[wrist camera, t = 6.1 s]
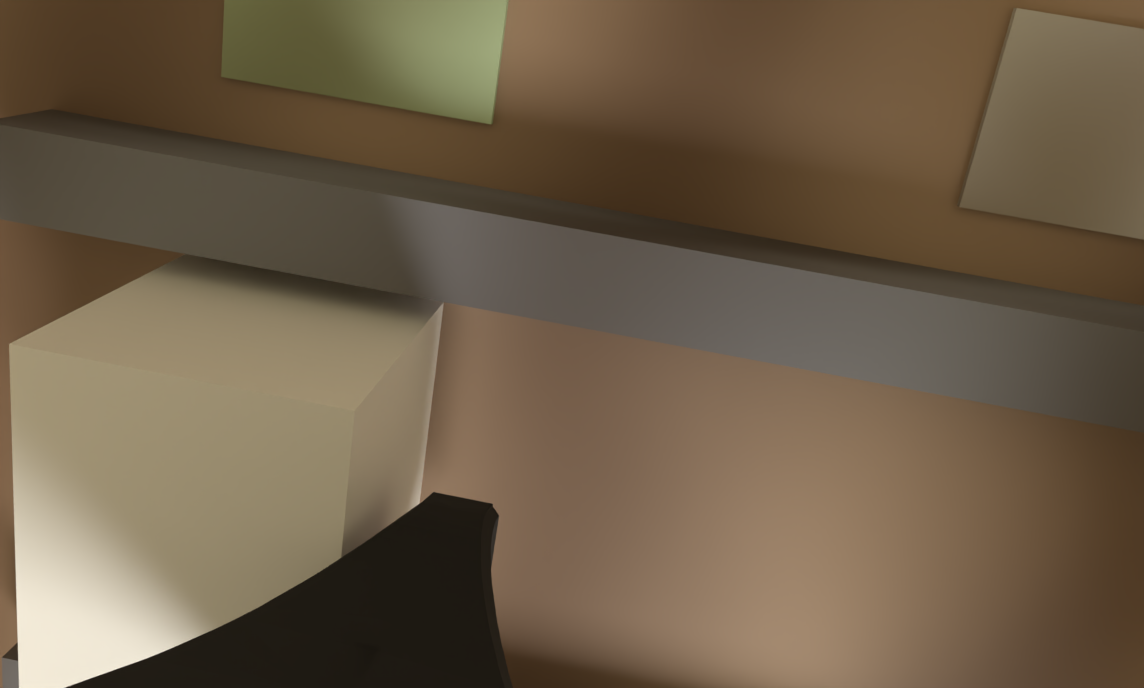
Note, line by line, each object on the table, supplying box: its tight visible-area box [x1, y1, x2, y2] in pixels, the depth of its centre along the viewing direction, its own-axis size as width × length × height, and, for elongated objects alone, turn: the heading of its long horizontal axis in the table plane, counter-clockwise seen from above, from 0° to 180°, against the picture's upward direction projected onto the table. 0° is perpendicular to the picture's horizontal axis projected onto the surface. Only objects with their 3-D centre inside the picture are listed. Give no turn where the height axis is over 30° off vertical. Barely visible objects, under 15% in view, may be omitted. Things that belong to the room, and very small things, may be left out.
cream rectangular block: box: [9, 254, 444, 688], centre depth 11 cm, size 3×5×3 cm, turn 171°
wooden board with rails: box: [0, 0, 1144, 688], centre depth 13 cm, size 18×14×3 cm
